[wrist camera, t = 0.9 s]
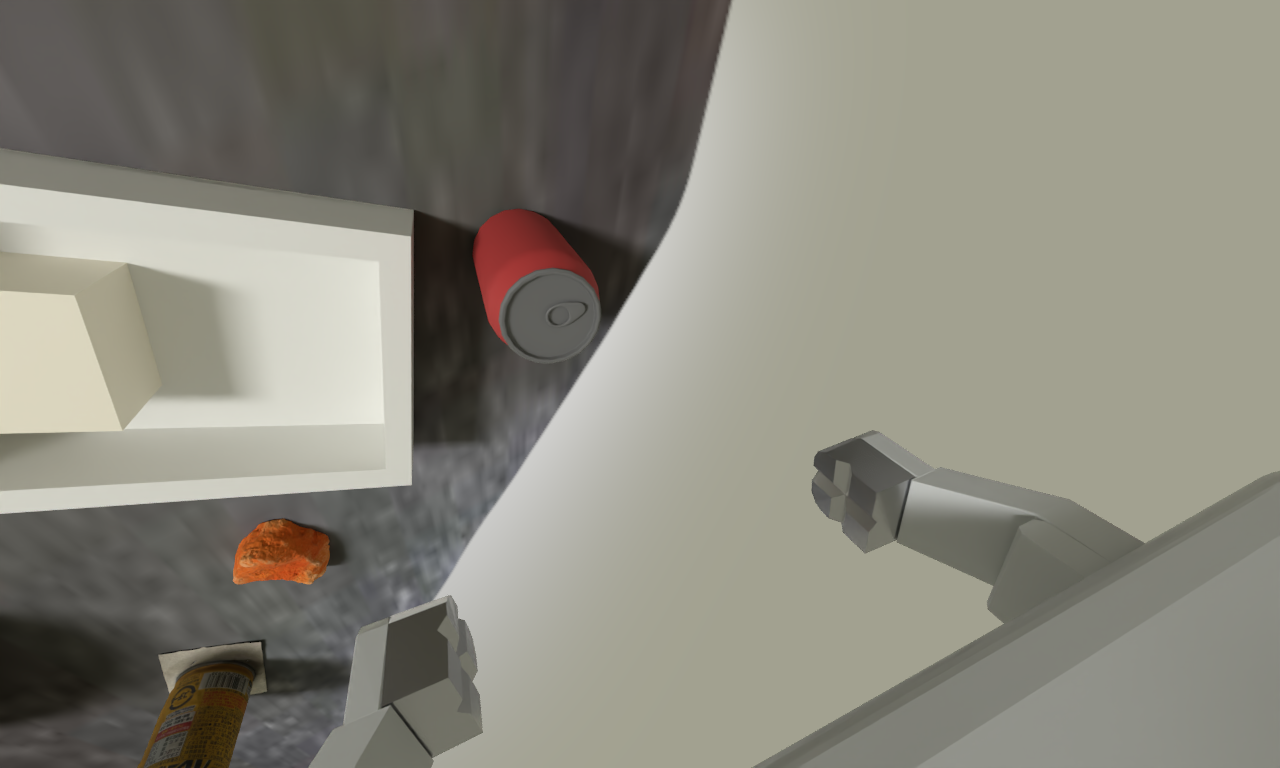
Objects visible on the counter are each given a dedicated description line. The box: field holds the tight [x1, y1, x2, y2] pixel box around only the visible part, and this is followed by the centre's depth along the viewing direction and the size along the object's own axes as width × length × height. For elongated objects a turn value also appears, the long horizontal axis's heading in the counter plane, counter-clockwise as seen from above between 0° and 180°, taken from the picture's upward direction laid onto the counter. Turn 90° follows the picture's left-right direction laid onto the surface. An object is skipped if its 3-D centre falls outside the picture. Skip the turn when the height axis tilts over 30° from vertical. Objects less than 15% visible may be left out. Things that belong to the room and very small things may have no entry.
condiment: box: [137, 642, 267, 768], centre depth 41 cm, size 7×8×12 cm
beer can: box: [472, 209, 601, 364], centre depth 30 cm, size 7×7×12 cm
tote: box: [0, 148, 414, 514], centre depth 27 cm, size 18×25×6 cm
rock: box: [233, 519, 330, 584], centre depth 39 cm, size 12×12×4 cm
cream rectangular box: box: [0, 252, 162, 434], centre depth 25 cm, size 8×8×5 cm
